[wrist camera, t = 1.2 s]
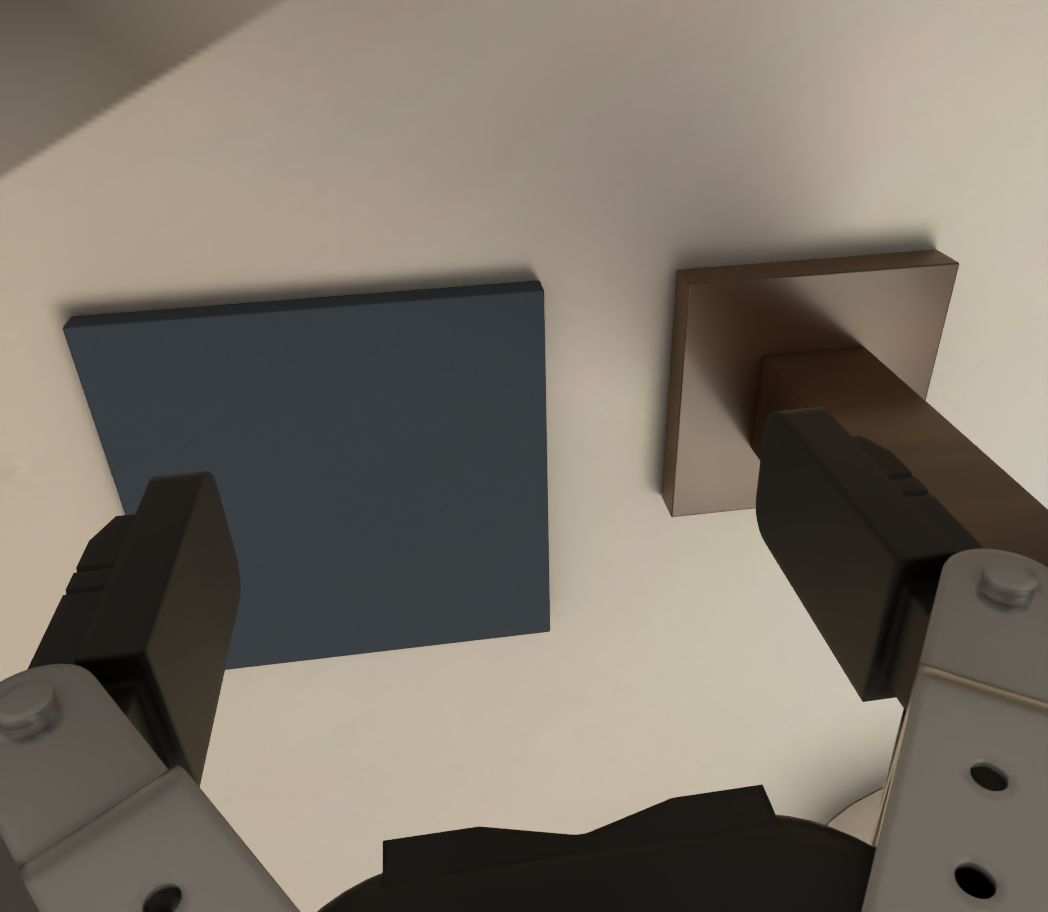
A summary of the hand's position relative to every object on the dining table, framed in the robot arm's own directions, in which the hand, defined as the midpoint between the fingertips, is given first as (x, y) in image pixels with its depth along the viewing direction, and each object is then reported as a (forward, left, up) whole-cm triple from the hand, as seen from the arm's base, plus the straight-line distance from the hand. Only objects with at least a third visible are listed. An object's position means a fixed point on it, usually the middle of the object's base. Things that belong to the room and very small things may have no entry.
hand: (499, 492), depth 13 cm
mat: (+12, -5, -19) cm, 22 cm away
